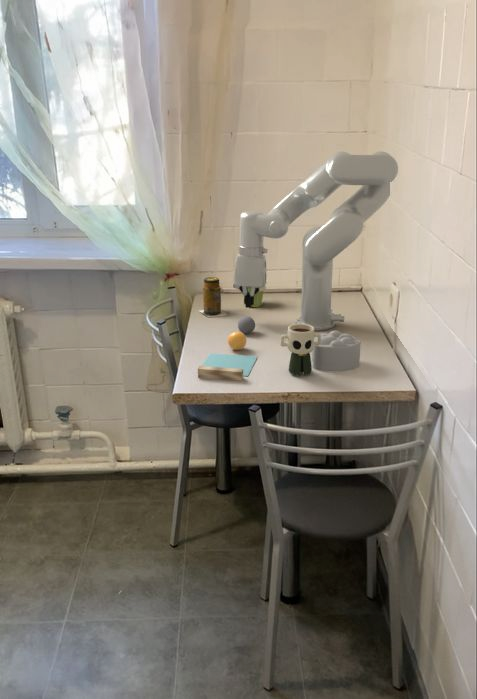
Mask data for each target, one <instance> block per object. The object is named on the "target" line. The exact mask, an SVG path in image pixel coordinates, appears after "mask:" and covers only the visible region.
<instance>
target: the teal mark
mask: <svg viewBox="0 0 477 699" xmlns="http://www.w3.org/2000/svg"><path fill="white" fill-rule="evenodd" d="M257 359H258V356H256V355H243V354H242V355H241V354H240V355H239V354H229V353H228V354H227V353H224V354H223V353H213V352H212V353H211V352H210V353H209V354H208V356H207V357H206V359H205V360H204V362H203V363H202V365H201V366H207V367H221V368H234V369H243V377H249V375H250V372H251V370H252V369H253V367H254V365H255V363H256V360H257ZM196 372H197V374H198V371H196Z"/></svg>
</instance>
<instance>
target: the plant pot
mask: <svg viewBox="0 0 477 699" xmlns="http://www.w3.org/2000/svg"><path fill="white" fill-rule="evenodd" d="M265 284H267V282H266V283H265ZM251 288H252V287H248V292H249V294H250V293H251ZM264 292H265V291H258V292H257V293H256V294H255V295H254V304H253V305H252V306H251V308H260V307H261V306H262V304H263V299H264V297H263V296H264ZM242 295H243V294H242ZM242 297H243V298H244V295H243V296H242ZM243 305H244V306H245V307H246V304H244V303H243Z"/></svg>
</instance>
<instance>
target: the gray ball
mask: <svg viewBox="0 0 477 699" xmlns="http://www.w3.org/2000/svg"><path fill="white" fill-rule="evenodd" d="M237 328H238V330H239V332H242V333H243V334H244V335H248V334H251V333H253V332H254V330H255V329H256V321H255V320H254V318H252V317H251V316H242V317H241V318H240V319H239V320H238V323H237Z"/></svg>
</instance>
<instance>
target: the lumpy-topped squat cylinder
mask: <svg viewBox="0 0 477 699" xmlns="http://www.w3.org/2000/svg"><path fill="white" fill-rule="evenodd" d="M320 334H321V344H320V345H314V349H313V351H312V353H311V354H312V355H311V363H312V369H314V370H316V371H319V372H320V371H321V372H333V373H335V372H340V373H341V372H348V371H353V370H356V369H357V368H359V367H360V360H361V358H360V357H361V340H360V339H359V338H357V337H354V336H352V335H351V334H349V333H341V332H340V331H339V330H331V331H330V332H329V333H324V332H323V333H320ZM317 341H318V337H314V342H317Z"/></svg>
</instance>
